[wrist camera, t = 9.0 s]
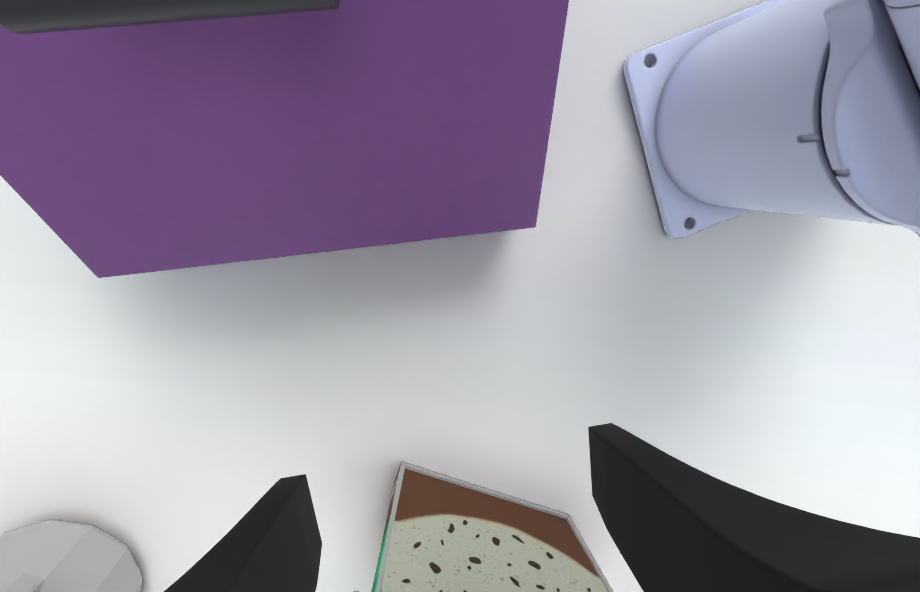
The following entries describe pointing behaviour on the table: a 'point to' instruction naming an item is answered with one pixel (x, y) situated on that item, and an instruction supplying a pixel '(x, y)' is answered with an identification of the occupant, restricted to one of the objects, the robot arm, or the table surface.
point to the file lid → (274, 123)
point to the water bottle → (65, 560)
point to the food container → (478, 541)
